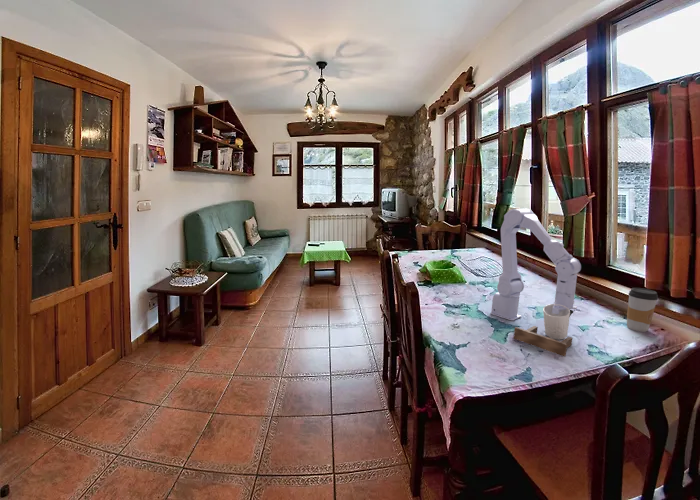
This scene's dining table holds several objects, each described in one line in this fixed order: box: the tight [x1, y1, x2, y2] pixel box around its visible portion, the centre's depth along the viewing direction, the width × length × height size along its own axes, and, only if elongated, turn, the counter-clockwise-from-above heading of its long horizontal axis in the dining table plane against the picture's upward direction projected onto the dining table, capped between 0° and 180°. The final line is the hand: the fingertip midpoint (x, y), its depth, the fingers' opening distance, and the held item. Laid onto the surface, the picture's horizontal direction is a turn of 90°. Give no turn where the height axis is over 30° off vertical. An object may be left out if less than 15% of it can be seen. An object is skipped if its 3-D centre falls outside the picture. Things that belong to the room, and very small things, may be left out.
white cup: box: [542, 303, 571, 340], centre depth 118 cm, size 8×8×10 cm
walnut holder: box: [513, 325, 573, 357], centre depth 114 cm, size 16×11×4 cm
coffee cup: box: [626, 287, 659, 333], centre depth 126 cm, size 8×8×15 cm
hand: (560, 328), depth 121 cm, fingers closed, pressing on white cup
